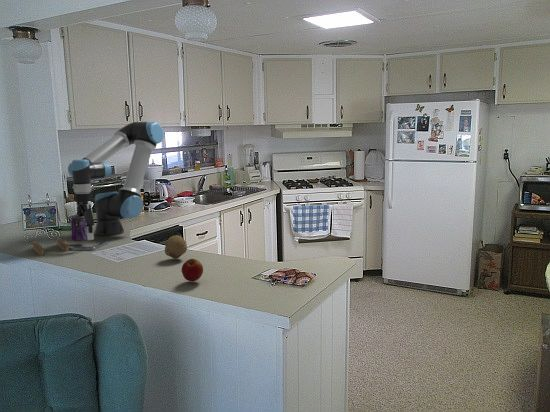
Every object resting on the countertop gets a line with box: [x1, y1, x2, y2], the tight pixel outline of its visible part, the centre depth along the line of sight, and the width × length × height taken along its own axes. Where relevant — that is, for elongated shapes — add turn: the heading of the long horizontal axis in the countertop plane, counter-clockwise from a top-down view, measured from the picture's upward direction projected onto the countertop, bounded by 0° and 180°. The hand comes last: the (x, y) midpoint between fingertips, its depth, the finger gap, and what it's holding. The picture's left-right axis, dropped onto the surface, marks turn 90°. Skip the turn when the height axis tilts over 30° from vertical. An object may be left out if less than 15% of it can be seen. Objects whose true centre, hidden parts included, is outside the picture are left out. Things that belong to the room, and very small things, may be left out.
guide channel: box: [31, 237, 70, 257], centre depth 211 cm, size 12×16×4 cm
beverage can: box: [70, 214, 88, 243], centre depth 218 cm, size 7×7×12 cm
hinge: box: [68, 240, 108, 252], centre depth 213 cm, size 11×19×1 cm, turn 128°
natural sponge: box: [164, 235, 188, 259], centre depth 192 cm, size 9×9×10 cm
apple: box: [181, 258, 204, 282], centre depth 163 cm, size 8×8×8 cm
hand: (86, 237), depth 216 cm, fingers open, 13 cm apart
